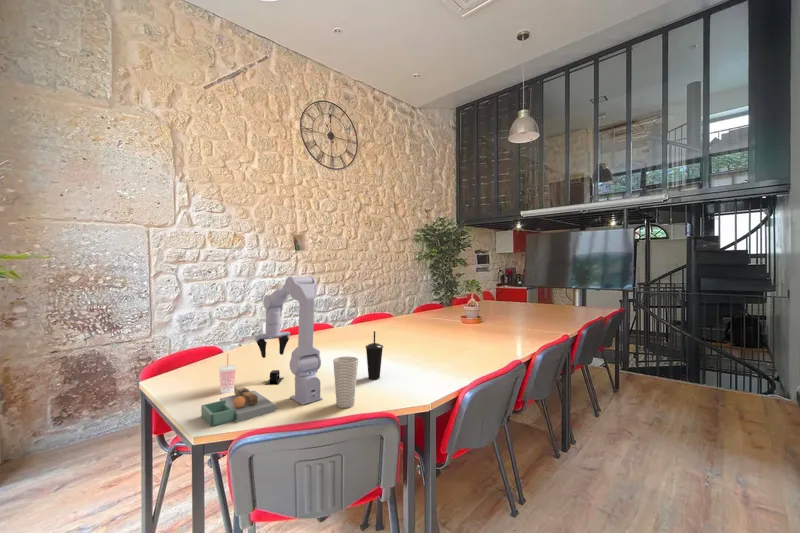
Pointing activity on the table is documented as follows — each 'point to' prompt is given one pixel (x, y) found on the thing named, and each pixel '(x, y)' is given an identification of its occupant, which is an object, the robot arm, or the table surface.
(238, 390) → the lever
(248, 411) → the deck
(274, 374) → the black blocky device
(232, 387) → the beverage cup
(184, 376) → the table surface
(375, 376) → the drinking cup
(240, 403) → the ball
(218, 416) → the teal dish
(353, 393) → the cup
